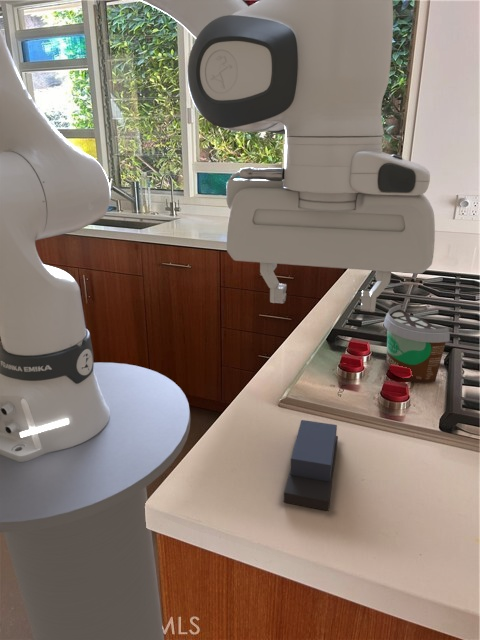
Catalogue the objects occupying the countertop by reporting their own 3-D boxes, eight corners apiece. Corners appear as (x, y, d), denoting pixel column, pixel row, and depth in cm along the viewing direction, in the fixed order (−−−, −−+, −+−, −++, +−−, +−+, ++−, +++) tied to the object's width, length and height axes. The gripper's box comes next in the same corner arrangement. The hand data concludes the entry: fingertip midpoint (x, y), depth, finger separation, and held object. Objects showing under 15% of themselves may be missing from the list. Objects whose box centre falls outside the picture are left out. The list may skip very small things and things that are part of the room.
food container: (364, 360, 84) (369, 308, 80) (392, 354, 86) (399, 303, 82) (411, 393, 73) (419, 335, 69) (441, 385, 75) (451, 329, 71)
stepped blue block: (328, 511, 51) (330, 483, 49) (283, 502, 52) (284, 475, 51) (337, 444, 62) (339, 420, 60) (299, 438, 63) (300, 415, 61)
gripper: (216, 170, 44) (219, 306, 49) (449, 174, 38) (424, 326, 44) (234, 164, 49) (235, 288, 55) (440, 168, 44) (419, 304, 49)
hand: (321, 305), depth 49 cm, fingers open, 8 cm apart
